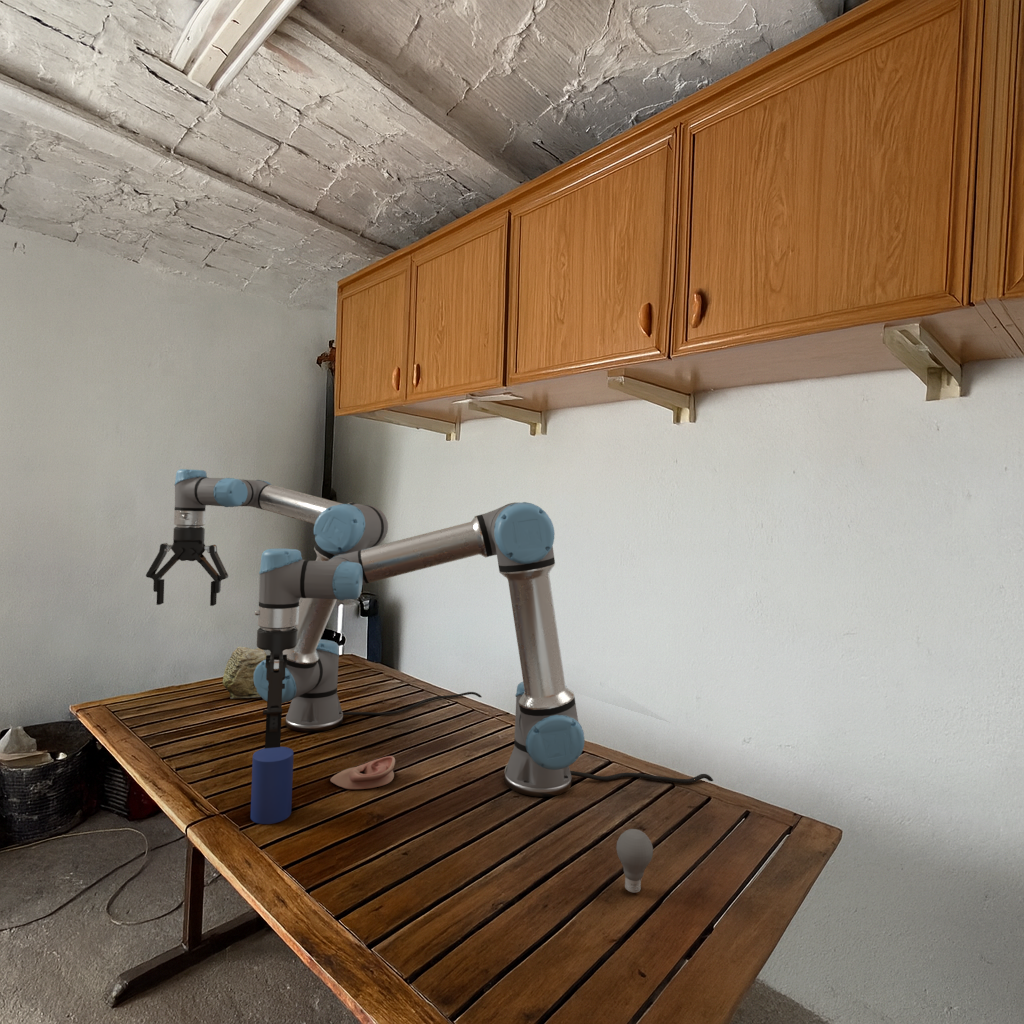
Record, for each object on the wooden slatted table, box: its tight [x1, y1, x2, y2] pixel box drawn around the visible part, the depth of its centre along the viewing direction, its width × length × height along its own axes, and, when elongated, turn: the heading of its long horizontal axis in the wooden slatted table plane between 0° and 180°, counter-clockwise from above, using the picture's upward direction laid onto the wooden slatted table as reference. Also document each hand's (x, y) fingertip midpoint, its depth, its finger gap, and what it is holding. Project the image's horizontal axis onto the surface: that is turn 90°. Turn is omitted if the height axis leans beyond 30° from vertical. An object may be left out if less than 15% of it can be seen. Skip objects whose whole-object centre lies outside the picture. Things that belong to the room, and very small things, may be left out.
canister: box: [250, 746, 295, 825], centre depth 125 cm, size 8×8×12 cm
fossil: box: [222, 646, 268, 699], centre depth 198 cm, size 9×18×15 cm, turn 132°
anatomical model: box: [330, 755, 396, 790], centre depth 143 cm, size 13×4×12 cm
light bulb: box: [615, 828, 654, 894], centre depth 106 cm, size 6×6×10 cm
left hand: (186, 604), depth 172 cm, fingers open, 13 cm apart
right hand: (272, 734), depth 125 cm, fingers open, 13 cm apart
